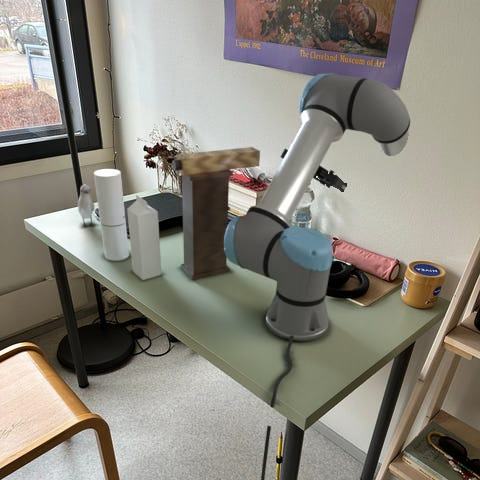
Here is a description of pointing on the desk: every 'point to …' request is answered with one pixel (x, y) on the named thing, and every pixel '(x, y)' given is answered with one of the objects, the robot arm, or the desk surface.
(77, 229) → the desk surface
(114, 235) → the cylindrical container
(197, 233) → the wooden pedestal column
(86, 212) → the bird
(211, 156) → the wooden plank
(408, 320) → the desk surface
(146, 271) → the milk
